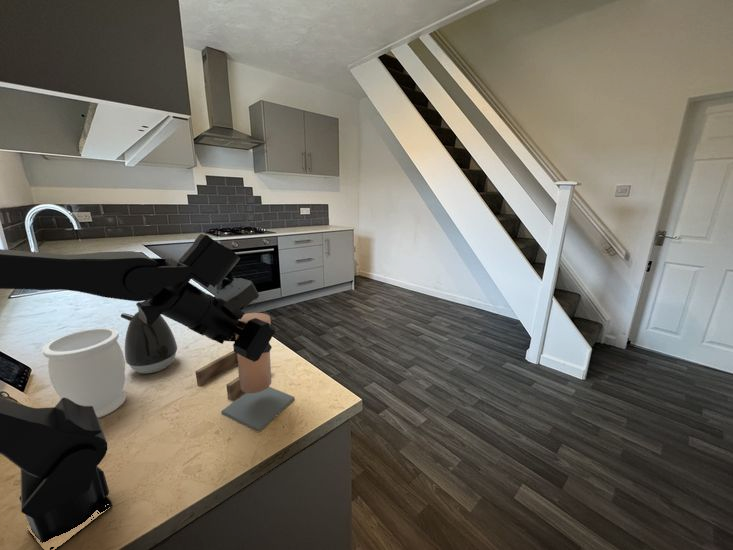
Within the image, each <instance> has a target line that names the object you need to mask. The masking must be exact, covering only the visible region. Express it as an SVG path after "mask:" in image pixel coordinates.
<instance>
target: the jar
mask: <svg viewBox="0 0 733 550" xmlns="http://www.w3.org/2000/svg"><path fill="white" fill-rule="evenodd" d="M118 340H119V331H118V330H117V329H115V328H110V327H96V328H89V329H84V330H78V331H74V332H71V333H67V334H65V335H62V336H59V337H57V338H55V339H53V340H51V341H50V342H47V343H46V344H45V345H43V347H42V349H41V351H42V354H43V356H44V357H45V358H47V359H48V361H47V363H48V364H47V368H48V369H47V370H48V374H49V376H48V377H49V379H50V383H51V385H52V386H53V389H54V391H56V393H57V395H58V397H59V398H60V400H61V399H62V398H67V399H69V400H71V401H73V402H74V403H76V404H78V405H82V406H93V408H94V411H95V414H96V416H97V417H98V419H100V418H102V417H105V416H106V415H109V414H110V413H113V412H115V410H117V409H118V408H120V407H121V406H122V405H123V404H124V403H125V401H126V399H127V395H126V393H125V392H124V391H123V390H124V387H125V383H126V373H125V372H126V360H125V355H124V353H123V350H122V348H121V345H120V344H119V343H118Z"/></svg>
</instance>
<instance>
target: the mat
mask: <svg viewBox="0 0 733 550" xmlns="http://www.w3.org/2000/svg"><path fill="white" fill-rule="evenodd" d="M293 399H294V400H295V396H293V395H291V394H288V393H286V392H283V391H280V390H278V389H276V388H273V387H271V386H269V387H268V388H267V389H265V390H263V391H261V392H257V393H245V392H244V394H242V395H241V396H240V397H239V398H237V399H235V400H234V401H233V402H232V403H230V404H229V405H227V406H226V407H225V408H223V409H222V410H221V415H224V416H226V417H227V418H230V419H232V420H233V421H236V422H238V423H240V424H242V425H243V426H246V427H247V428H250V429H252V430H254V431H256V432H258V433H260V432H261V431H262V430H263V429H265V427H266V426H268V424H270V422H271V421H273V420H274V419H275V418H276V417H277V416H278V415H280V413H281V412H283V409H284V408H285V407H286V406H287V405H288V404H289V403H290V402H291V403H292V402H293V401H294V400H293ZM292 400H293V401H292ZM291 403H290V404H291ZM290 404H289V405H290ZM289 405H288V406H289ZM288 406H287V407H288ZM287 407H286V408H287ZM286 408H285V409H286ZM285 409H284V410H285ZM279 412H280V413H279ZM276 415H277V416H276ZM274 417H275V418H274ZM273 418H274V419H273ZM259 431H260V432H259Z"/></svg>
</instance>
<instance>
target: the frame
mask: <svg viewBox="0 0 733 550" xmlns="http://www.w3.org/2000/svg"><path fill="white" fill-rule="evenodd" d="M234 365H235V366H236V365H238V360H237V353H235V352H234V350H232V351H230V352H228V353H227V354H224V355H222V356H221V357H219V358H217V359H216V360H213V361H212V362H210V363H208V364H206V365H204V366H202V367H200V368H198V369H197V370H195V371H194V372H195V378H196V385H197V386H200V387H201V386H203V385H204V384H206V383H207V382H210V381H211V380H213V379H214V378H216V377H217V376H219V375H221V374H223V373H225V372H226V371H228V370H230V369H232V368H233V367H235V366H234ZM226 392H227V393H226V395H227V400H229V401H232V400H234V399H235V398H236V397H238V396H240V395H241V394H242V393H244V392H243V391H242V390H241V389H240V383H239V376H237V377H236V378H234V379H233V380H231V381H230V382H228V383H226Z"/></svg>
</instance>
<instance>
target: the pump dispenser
mask: <svg viewBox="0 0 733 550" xmlns="http://www.w3.org/2000/svg"><path fill="white" fill-rule="evenodd" d="M120 317H121V318H122V319H124V320H127V321H129V323H128V326H127V329H126V334H125V339H124V360H125V364H128V365H129V367H130V368H131V369H132V370H133V371H135V372H137V373H140V374H152V373H157V372H160V371H162V370H164V369H166V368H167V367H169V366H170V365H172V363H173V362H174V359H175V357H176V355H177V351H178V345H177V341H176V338H175V335H174V333H173V331H172V329H171V328H170V326H169V324H168V323H167V321H166V319H165V318H164V317H163V315H162V314H161V315H160V316H159V317H158V319H157V320H156V321H155V322H154V323H153V324H152V325H147V324H146V323H145V322H144V321H143V320H141V319H140V318H139V316H138V311H137V312H136V313H134V315H132V314H128V313H125V312H123V313H121V314H120Z"/></svg>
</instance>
